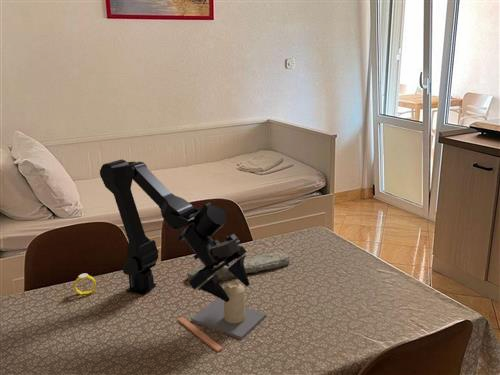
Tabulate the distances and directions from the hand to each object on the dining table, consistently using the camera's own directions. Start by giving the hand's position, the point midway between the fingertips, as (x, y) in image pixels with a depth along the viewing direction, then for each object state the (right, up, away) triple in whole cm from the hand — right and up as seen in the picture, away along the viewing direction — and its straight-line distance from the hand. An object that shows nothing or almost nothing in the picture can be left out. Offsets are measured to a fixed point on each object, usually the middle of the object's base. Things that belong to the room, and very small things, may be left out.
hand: (238, 293), depth 122 cm
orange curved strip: (-10, -10, -2) cm, 14 cm away
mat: (-3, -8, +4) cm, 9 cm away
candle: (-1, -7, +3) cm, 8 cm away
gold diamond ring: (-46, -4, +19) cm, 50 cm away
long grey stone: (0, 0, +31) cm, 31 cm away
